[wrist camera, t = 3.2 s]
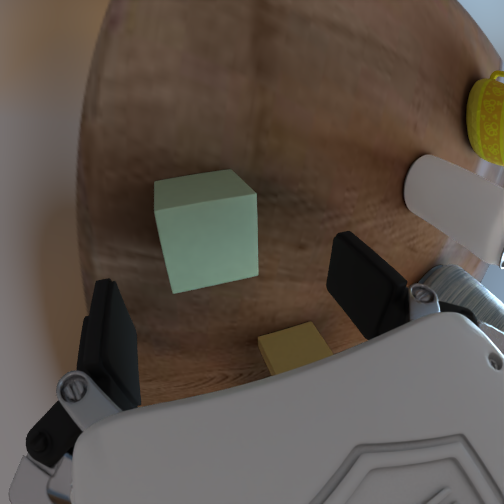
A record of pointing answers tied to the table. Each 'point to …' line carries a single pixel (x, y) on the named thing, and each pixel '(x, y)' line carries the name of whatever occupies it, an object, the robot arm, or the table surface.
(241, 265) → the block
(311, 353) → the tan bar frame
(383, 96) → the table surface
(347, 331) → the table surface
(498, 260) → the can
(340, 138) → the table surface
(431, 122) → the table surface
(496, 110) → the yellow lemon pot
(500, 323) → the vase
